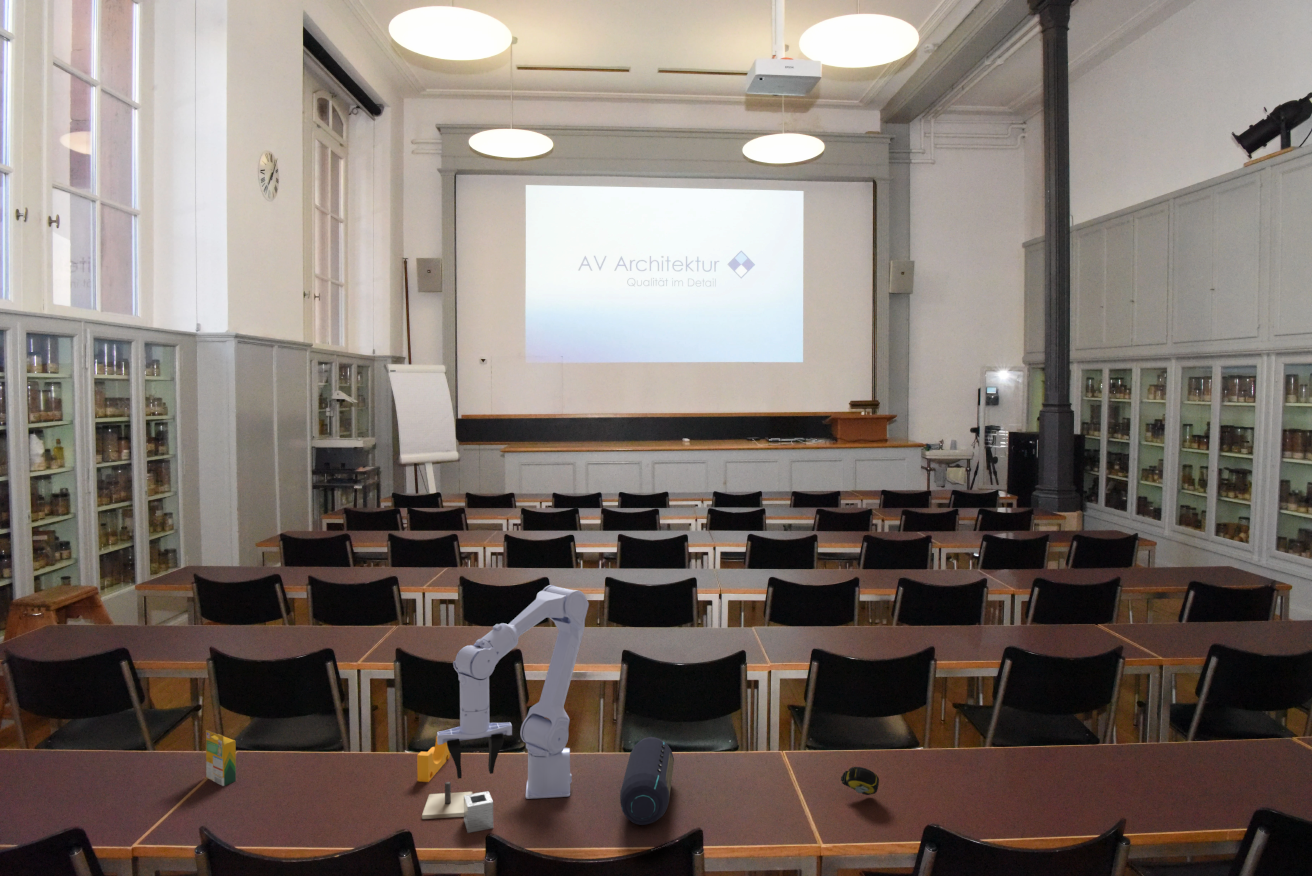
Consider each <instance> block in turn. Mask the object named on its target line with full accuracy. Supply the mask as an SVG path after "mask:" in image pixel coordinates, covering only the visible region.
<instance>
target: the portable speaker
mask: <svg viewBox="0 0 1312 876" xmlns="http://www.w3.org/2000/svg"><path fill="white" fill-rule="evenodd" d="M674 765H675V758H674V754H673V751H672V749H671V748H670V746H669V745H668V744H667V743H666V741H663V740H662V739H660V738H659V737H654V736H649V737H644V738H642V739H640V740H639V741H638V742H637V743H636V744H635V745H634V746H633V748H632V750H631V752H630V754H629V758H628V761H627V765H626V769H625V772H624V777H623V780H622V781H623V782H622V783H621V784H622V785H621V788H620V793H619V794H620V795H619V799H620V800H619V801H620V808H621V811H622V813H623V815H624V817H626V819H627V820H628V821H630V822H631V823H633V824H636V825H641V826H643V825H644V826H645V825H650V824H652V823H655V822H656V821H659V819H662V817H663V816H664V815H665V813H666V811H667V809H668V808H669V807H668V806H669V802H670V797H671V796H670V795H671V787H672V781H673V771H674Z"/></svg>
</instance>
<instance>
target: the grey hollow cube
mask: <svg viewBox="0 0 1312 876" xmlns="http://www.w3.org/2000/svg"><path fill="white" fill-rule="evenodd" d="M463 823H464V825H465V828H466V831H467V832H466V833H467V834H470V833H475V832H480V831H485V830H491V829H494V800H493V798H492V796H491V793H490V792H489V790H487V791H482V792H481V791H480V792H475V793H472V794H469V795H464V816H463Z"/></svg>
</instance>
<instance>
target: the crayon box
mask: <svg viewBox="0 0 1312 876" xmlns="http://www.w3.org/2000/svg"><path fill="white" fill-rule="evenodd" d="M236 746H237V745H236V740H235V739H231V738H229V737H226V736H224V735H222V734H219V733H216V732H214V731H210V730H207V729H205V758H206V759H205V760H206V761H205V766H206V767H205V772H206V773H205V775H206V776H205V778H206V779H209V780H210V781H213V782H214V783H216V784H218V785H220V786H222V787H225V786H228V785H230V784H232V783H234V782H236V781H237V778H236V777H237V771H236V770H237V768H236V767H237V766H236V765H237V764H236V763H237V762H236V759H237V755H236V754H237V753H236V750H237V749H236Z"/></svg>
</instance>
